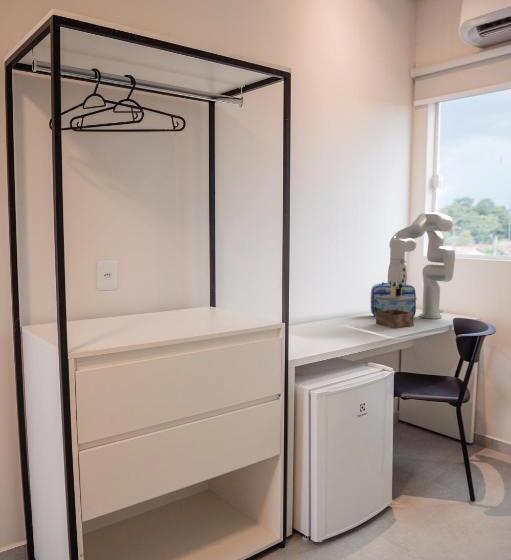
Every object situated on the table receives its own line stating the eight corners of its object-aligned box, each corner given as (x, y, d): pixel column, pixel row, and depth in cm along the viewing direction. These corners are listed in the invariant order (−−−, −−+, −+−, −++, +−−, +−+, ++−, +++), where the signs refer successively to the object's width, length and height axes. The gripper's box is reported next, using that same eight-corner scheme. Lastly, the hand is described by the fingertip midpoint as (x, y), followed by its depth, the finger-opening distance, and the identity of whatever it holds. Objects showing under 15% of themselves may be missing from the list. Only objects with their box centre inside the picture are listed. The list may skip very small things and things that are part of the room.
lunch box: (370, 318, 310) (372, 283, 308) (368, 315, 321) (370, 281, 318) (416, 319, 308) (417, 284, 305) (412, 316, 318) (414, 282, 316)
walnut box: (394, 323, 297) (394, 309, 296) (413, 327, 285) (414, 313, 284) (376, 325, 290) (376, 311, 289) (395, 330, 278) (395, 315, 277)
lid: (395, 296, 296) (395, 283, 295) (416, 299, 283) (416, 286, 283) (376, 298, 288) (376, 285, 287) (396, 302, 276) (397, 289, 275)
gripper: (413, 262, 278) (412, 296, 281) (391, 260, 292) (390, 292, 294) (403, 263, 274) (402, 298, 277) (381, 260, 288) (380, 294, 290)
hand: (396, 295), depth 286 cm, fingers closed on lid, 2 cm apart
